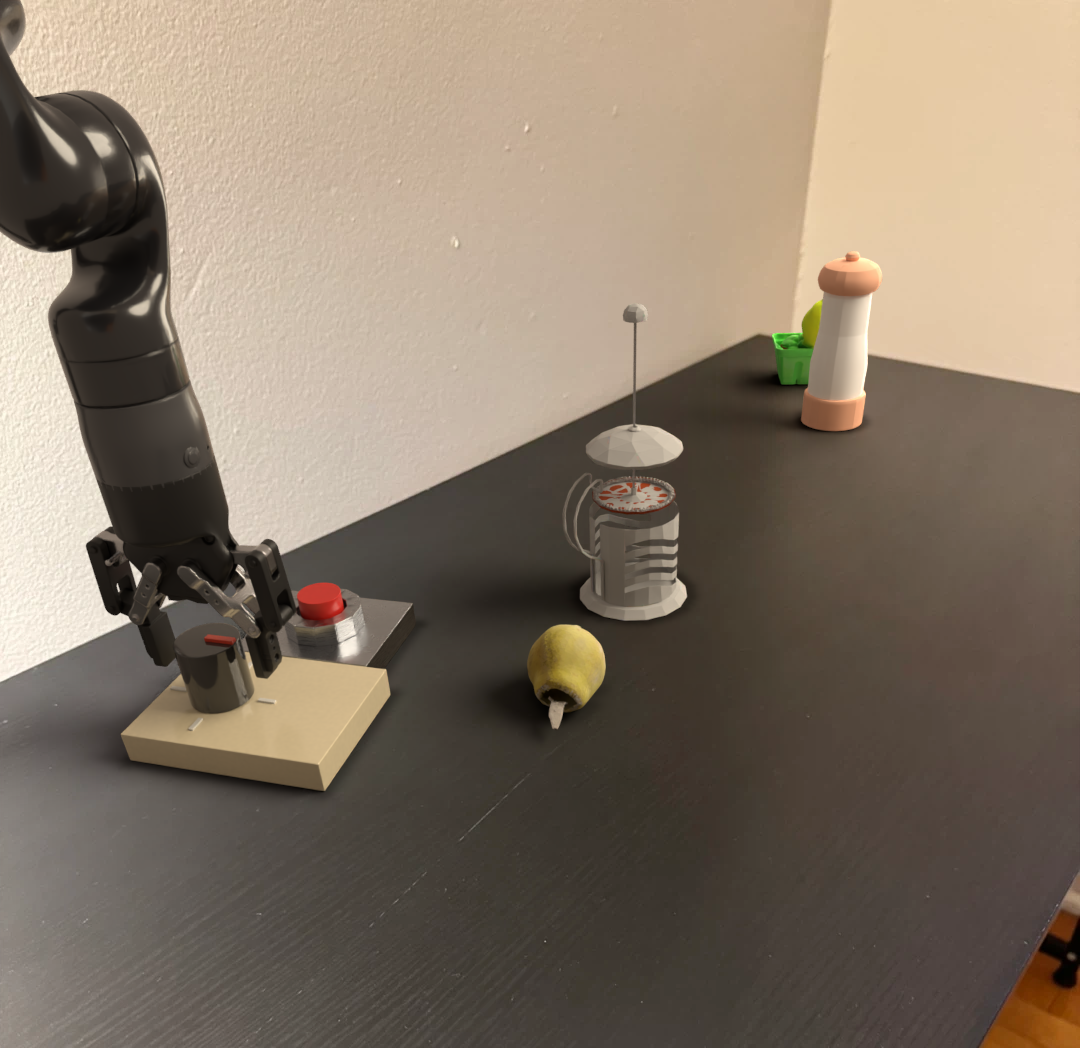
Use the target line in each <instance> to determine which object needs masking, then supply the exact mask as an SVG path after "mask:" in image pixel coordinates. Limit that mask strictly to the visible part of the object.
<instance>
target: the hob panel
mask: <svg viewBox="0 0 1080 1048" xmlns="http://www.w3.org/2000/svg"><path fill="white" fill-rule="evenodd" d="M245 655H246V658H247V662H248V666H249V669H250V673H251V677H252V680H253V684H254V688H255V689H254V694H253V696H252V697H251V698H250V699H249V701H247V702H246V703H245V704H243V705H242V706H240V707H238V708H236V709H233V710H230V711H227V712H222V713H204V712H200V711H198V710H196V709H194V708H193V707H192V705H191V703H190V700H189V697H188V694H187V691H186V687H185V684H184V681H183V678H182V675H181V673H180V674H179V675H177V676H176V678H175V679H174V680H173V681H172V682H171V683H170V684H169V685H168V686H167V687H166V688H165V689H164V690H163V691H162V692H161V693H160V694H159V695H158V696H157V697H156V698H155V699H154V700H153V701H152V702H151V703H150V704H149V705H148V706H146V708H145V709H143V711H142V712H141V713H140V714H139V715H138V716H137V717H136V718H135V719H134V720H132V722H131V723H130V724H129V725H128V726H127V727H126V728H125V729H124V730H123V731H122V732H121V733H120V737H121V740H122V742H123V745H124V747H125V750H126V752H127V755H128V758H129V760H130V761H132V762H139V763H145V764H151V765H158V766H164V767H170V768H176V769H182V770H189V771H195V772H202V773H207V774H214V775H219V776H227V777H233V778H239V779H245V780H251V781H258V782H264V783H269V784H277V785H282V786H283V785H284V786H289V787H295V788H302V789H307V790H313V791H320V792H326V790H327V789H328V787H329V786H330V784H331V783H332V782H333V780H334V779H335V777H336V776H337V774H338V773H339V771H340V770H341V769H342V767H343V766H344V764H345V763H346V761H347V759H348V758H349V757H350V755H351V753H352V752H353V751H354V750H355V748H356V747H357V744H358V743H359V742H360V740H361V739H362V738H363V736H364V734H365V733H367V730H368V729H369V727H370V725H372V723H373V721H374V720H375V719H376V717H377V715H378V714H379V713H380V711H382V708H383V707H384V705H385V704H386V703H387V701H388V699H389V698H390V696H391V689H390V684H389V677H388V671H387V669H386V668H385V669H380V668H372V667H364V666H355V665H347V664H339V663H331V662H323V661H315V660H307V659H299V658H291V657H283V656H282V661H281V663H280V664H279V665H278V667H277V669H276V670H275V671H274V672H273V673H272V674H271V675H270V677H269V678H268V679H264V678H257V677H256V675H255V671H254V668H253V664H252V661H251V657H250V653H249V652H245Z"/></svg>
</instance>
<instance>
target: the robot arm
mask: <svg viewBox="0 0 1080 1048" xmlns="http://www.w3.org/2000/svg"><path fill="white" fill-rule="evenodd" d="M26 23H27V21H26V12H25V9H24V5H23V2H22V1H21V0H0V233H1V235H3V236H5V237H6V238H8V239H9V240H10V241H12V242H14V243H15V244H16V245H17V244H18V245H19V246H21V247H23V248H25V249H27V250H31V251H32V252H38V253H42V254H55V253H63V252H66V251H70V256H71V257H70V258H71V276H70V279H69V282H68V283H67V284H66V286H65V287H64V288H63V290H62V291H61V292H60V293H59V294H58V295H56V297H55V298H54V299H53V301H52V302H51V304H50V306H49V308H48V311H47V323H48V328H49V332H50V335H51V339H52V342H53V345H54V348H55V351H56V354H57V357H58V360H59V363H60V366H61V368H62V371H63V375H64V377H65V379H66V383H67V386H68V389H69V392H70V394H71V397H72V399H73V404H74V406H75V412H76V414H77V416H76V417H77V421H78V426H79V431H80V432H79V433H80V436H81V439H82V442H83V446H84V449H85V452H86V454H87V457H88V461H89V463H90V466H91V468H92V471H93V475H94V478H95V480H96V483H97V486H98V489H99V492H100V494H101V498H102V500H103V503H104V506H105V509H106V512H107V515H108V518H109V521H110V523H111V526H108V527H106V529H104V530H102V531H100V532H99V533H98V534H96V535H95V536H94V537H93V538H92V539H90V540H89V541H87V542H86V543H85V549H86V553H87V556H88V559H89V562H90V565H91V568H92V572H93V576H94V577H95V578H94V579H95V581H96V584H97V587H98V591H99V594H100V597H101V600H102V603H103V607H104V609H105V611H106V612H107V613H108V614H110V615H111V616H115V617H116V616H118V615H119V614H121V615H124V616H127V617H128V619H129V621H130V622H131V623H133V624H134V625H136V627H137V628H138V632H139V634H140V637H141V639H142V643H143V646H144V649H145V651H146V653H147V655H148V656H149V657H150V659H152V661H153V663H154V665H155V666H156V667H163V668H167V667H168V666H169V665H170V664H172V662H173V661H175V660H176V657H175V654H174V650H173V643H174V641H175V639H176V637H175V634H174V633H175V632H174V631H173V628H172V625H171V622H170V621H171V620H170V619H169V615H168V613H167V611H162V610H161V608H162V606H163V605H164V603H165V600H166V598H167V600H168V601H174V602H180V601H190V602H193V603H196V604H200V605H201V604H202V605H208V604H209V605H210V606H211V608H213V609H214V610H215V612H217V613H218V615H219V616H221V617H223V618H230V619H231V620H232V621H233V622H234V623H235V624H236V625H237V626H238V627H239V628H240V629H241V630H242V631H243V632H244V633H245V636H246V635H247V636H246V637H245V636H244V637H245V639H246V643H247V646H248V650H249V653H250V657H251V661H252V664H253V668H254V671H255V675H256V677H257V678H264V679H268V678H269V677H270V675H271V674H272V673H273V672H274V671H275V670H276V669H277V667H278V665H279V664H280V663H281V661H282V653H281V650H280V646H279V641H278V637H277V633H276V632H279V631H280V630H281V629H282V628H283V626H284V625H285V624H286V623H287V622H288V621H289V620H290V619H291V618H292V617H293V615H294V614H295V613H296V611H297V609H296V605H295V602H294V599H293V595H292V592H291V590H292V589H291V586H290V582H289V579H288V575H287V572H286V569H285V567H284V563H283V559H282V556H281V553H280V549H279V546H278V544H277V543H276V542H275V541H274V540H273V539H271V538H265V539H263V540H262V541H261V542H260V543H259V544H258V545H245V544H244V545H243V544H239V543H238V542H237V540H236V539H235V538H234V536H233V534H232V532H231V531H230V526H229V525H230V524H229V521H230V520H229V516H230V509H229V505H228V500H227V498H226V497H227V496H226V493H225V489H224V485H223V482H222V478H221V475H220V470H219V467H218V463H217V459H216V456H215V452H214V449H213V445H212V441H211V437H210V433H209V429H208V427H207V426H208V425H207V421H206V419H205V415H204V411H203V410H202V407H201V404H200V403H199V400H198V398H197V394H196V392H195V390H194V388H193V385H192V382H191V379H190V374H189V370H188V366H187V363H186V359H185V356H184V352H183V348H182V344H181V340H180V337H179V333H178V329H177V327H176V323H175V321H174V317H173V312H172V303H171V301H172V300H171V297H172V295H171V293H172V291H171V289H172V269H171V268H172V267H171V249H170V248H171V247H170V231H169V229H170V228H169V213H168V212H169V211H168V203H167V196H166V190H165V184H164V178H163V175H162V171H161V168H160V164H159V162H158V159H157V156H156V154H155V151H154V150H153V147H152V145H151V143H150V141H149V139H148V137H147V135H146V134H145V132H144V130H143V129H142V127H141V126H140V125H139V123H138V122H137V120H136V119H135V118H134V117H133V115H132V114H131V113H130V112H129V111H128V110H127V109H126V108H125V107H124V106H123V105H121V103H119V102H117V101H116V100H114V99H113V98H111V97H109V96H108V95H105V94H103V93H101V92H98V91H93V90H84V89H80V90H79V89H75V90H68V91H61V92H56V93H50V94H44V95H38V96H34V95H33V94H32V93H31V92H30V91H29V89H28V88H27V86H26V84H25V83H24V81H23V79H21V77H20V74H19V73H18V71H17V69H16V66H15V65H14V62H13V60H12V58H11V56H12V54H13V53H14V52H15V51H16V50H17V48H18V47H19V45H20V44H21V42H22V40H23V38H24V35H25V32H26V25H27V24H26ZM131 565H133V567H135V569H136V570H138V572H139V573H140V574H141V576H140V579H139V581H138V584H137V583H136V580H135V577H134V573H133V569H132V566H131ZM230 584H231V585H232V586H233V588H234V591H235V593H234V594H233V595H232V596H228V595H226V594H225V591H226V590H227V588H228V587H229V585H230ZM244 605H245V606H246V607H247V608H248V609H249V610H250V611H251V612H252V613H253V614H254V615H252V613H250V612H249V611H248V610H247V609H246V608H245V607H244Z"/></svg>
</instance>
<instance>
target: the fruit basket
mask: <svg viewBox="0 0 1080 1048" xmlns="http://www.w3.org/2000/svg"><path fill="white" fill-rule="evenodd" d="M822 302H823V298H822V299H820V300H818V301H817V302H815V303H814V304H813V305H812V306H811V307H810V308H809V310H807V312H806V313H805V314H804V316H803V318H802V320H801V332H774V333H772V334H771V339H772V340H771V341H772V344H773V347H774V357H775V363H776V371H777V374H778V379H779V382H780V384H781V385H786V386H787V385H789V386H790V385H808V382H809V370H810V361H811V357H812V353H813V350H814V346H815V342H816V338H817V335H818V331H819V326H820V318H821V310H822Z"/></svg>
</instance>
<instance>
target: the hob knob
mask: <svg viewBox="0 0 1080 1048" xmlns="http://www.w3.org/2000/svg"><path fill="white" fill-rule="evenodd" d="M173 650H174V654H175V657H176V658H175V660H176V662H177V666H178V669H179V672H180V674H181V675H182V678H183V681H184V684H185V687H186V691H187V694H188V697H189V700H190V703H191V705H192V707H193V708H194V709H196V710H198V711H200V712H204V713H222V712H227V711H230V710H233V709H236V708H238V707H240V706H242V705H243V704H245V703H246V702H247V701H249V699H250V698H251V697H252V696H253V694H254V689H255V688H254V684H253V680H252V677H251V673H250V669H249V666H248V662H247V658H246V655H245V651H244V647H243V644H242V637H241V633H240V630H239V629H238V628H237V627H236V626H235V625H233V624H229V623H226V622H210V623H209V622H208V623H202V624H199V625H196V626H193V627H190V628H188V629H186V630H185V631H183V632H181V633H180V634H179V635H178V636H177V637H175V641H174V643H173Z"/></svg>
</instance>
